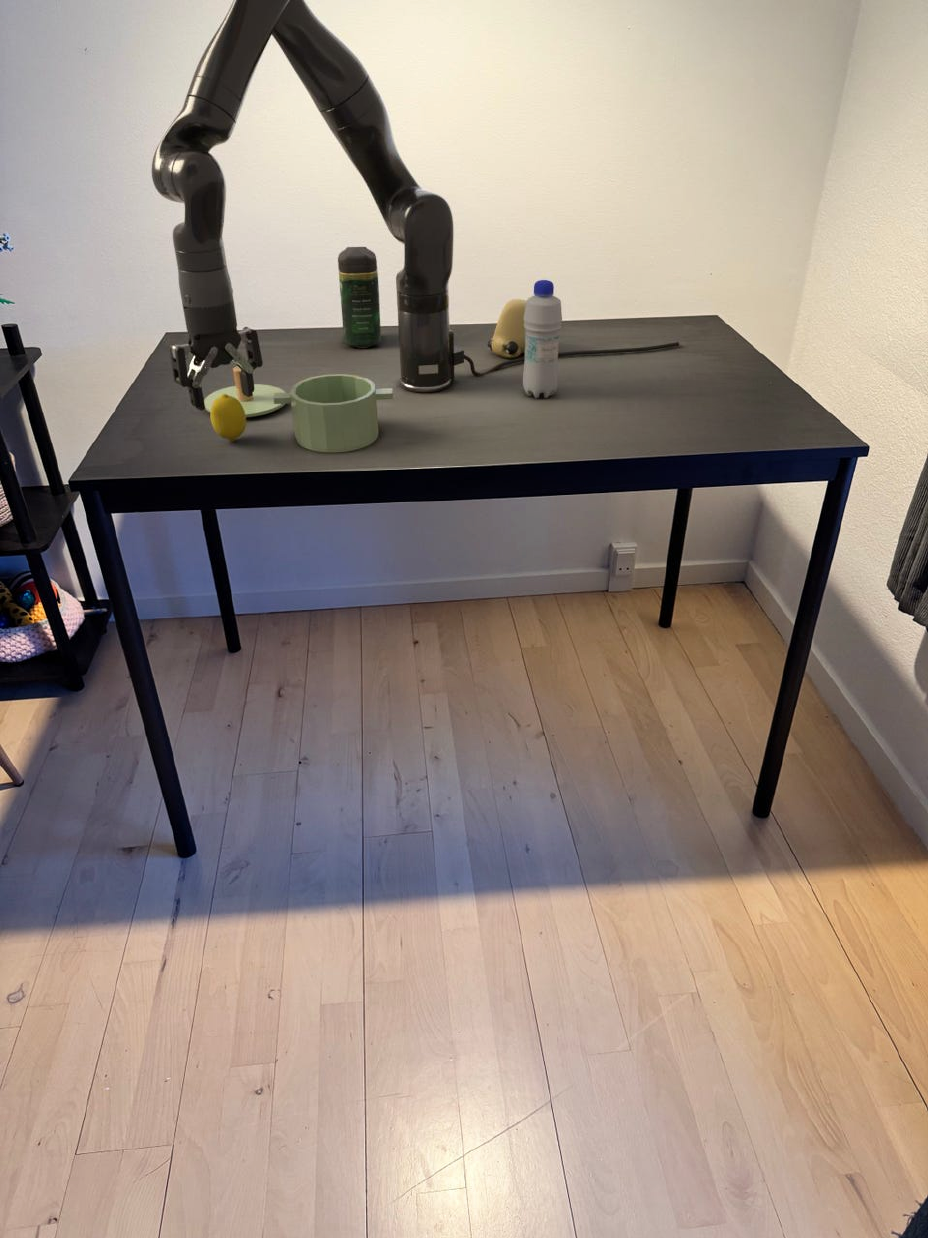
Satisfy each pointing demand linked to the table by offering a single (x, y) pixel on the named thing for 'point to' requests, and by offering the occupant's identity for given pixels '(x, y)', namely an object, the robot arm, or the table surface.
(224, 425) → the lemon
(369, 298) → the coffee jar
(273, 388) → the lid
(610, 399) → the table surface
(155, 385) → the table surface
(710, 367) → the table surface
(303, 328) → the table surface
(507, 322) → the beige curved piece
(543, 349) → the bottle
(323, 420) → the pot
